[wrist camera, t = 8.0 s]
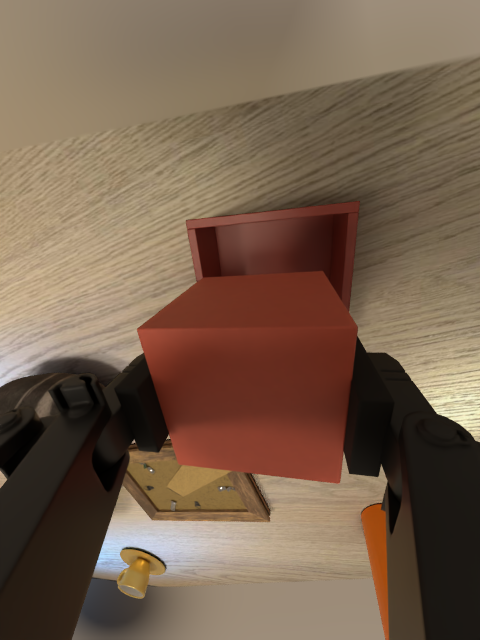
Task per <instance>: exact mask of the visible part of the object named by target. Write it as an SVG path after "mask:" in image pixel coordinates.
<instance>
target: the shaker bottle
mask: <svg viewBox="0 0 480 640" xmlns="http://www.w3.org/2000/svg"><path fill="white" fill-rule="evenodd" d="M381 507H382V504H376V505H372V506H369V507H368V508H366V509H365V510H364V511H363V512H362V514H361V519H362V524H363V529H364V534H365V539H366V544H367V550H368V555H369V560H370V565H371V570H372V575H373V580H374V585H375V590H376V595H377V599H378V605H379V610H380V615H381V620H382V625H383V630H384V635H385V640H389V622H388V585H387V547H386V512H385V511H383V510H381Z"/></svg>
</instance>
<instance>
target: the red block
mask: <svg viewBox="0 0 480 640" xmlns="http://www.w3.org/2000/svg"><path fill="white" fill-rule="evenodd" d="M137 332H138V335H139V338H140V342H141V345H142V348H143V351H144V355H145V358H146V361H147V364H148V368H149V371H150V374H151V377H152V381H153V384H154V387H155V390H156V393H157V397H158V400H159V403H160V406H161V410H162V413H163V416H164V419H165V423H166V426H167V429H168V432H169V436H170V439H171V442H172V445H173V449H174V452H175V455H176V458H177V462H178V464H179V465H186V466H195V467H203V468H211V469H220V470H228V471H237V472H245V473H253V474H262V475H270V476H279V477H287V478H296V479H304V480H312V481H321V482H329V483H340V478H341V470H342V461H343V452H344V442H345V433H346V424H347V415H348V407H349V398H350V389H351V381H352V375H353V366H354V358H355V349H356V341H357V332H358V327H357V325H356V323H355V322H354V320H353V319H352V317H351V315H350V314H349V312H348V311H347V309H346V307H345V306H344V304H343V302H342V301H341V299H340V298H339V296H338V294H337V293H336V291H335V290H334V288H333V286H332V285H331V283H330V281H329V280H328V278H327V277H326V275H325V273H324V272H323V271H313V272H295V273H277V274H259V275H242V276H224V277H206V278H202V279H200V280H199V281H198V282H197V283H195V284H194V285H193V286H191V287H190V288H189V289H188V290H186V291H185V292H184V293H182V294H181V295H180V296H179V297H177V298H176V299H175V300H173V301H172V302H171V303H170V304H168V305H167V306H166V307H164V308H163V309H162V310H161V311H159V312H158V313H157V314H155V315H154V316H153V317H152V318H150V319H149V320H148V321H146V322H145V323H144V324H143V325H141V326H140V327H139V328H138V329H137Z"/></svg>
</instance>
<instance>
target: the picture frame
mask: <svg viewBox="0 0 480 640" xmlns="http://www.w3.org/2000/svg"><path fill="white" fill-rule="evenodd" d="M128 452H129V454H130V462H129V465H128V468H127V471H126V474H125V477H124V480H123V483H122V484H123V486H124V487H125V488H126V489H127V490H128V492H129V493H130V494H131V495H132V496H133V498H134V499H135V500H136V501H137V502H138V504H139V505H140V506H141V507H142V508H143V510H144V511H145V512H146V513H147V515H148V516H149V517H150V518H151V519H152V520H171V521H243V522H270V517H269V516H270V511H269V509H268V507H267V505H266V503H265V501H264V499H263V497H262V495H261V493H260V491H259V490H258V488H257V486H256V484H255V482H254V480H253V478H252V476H251V474H250V473H245V472H237V471H228V470H220V469H211V468H203V467H195V466H186V465H179V464H178V462H177V458H176V455H175V452H174V449H173V445H172V442H171V441H165V442H164V444H163V446H162V448H161V450H160V452H159V453H155V452H146V451H139V450H138V447H137V445H136V444H135V445H130V446H129V447H128Z"/></svg>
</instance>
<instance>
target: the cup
mask: <svg viewBox="0 0 480 640" xmlns="http://www.w3.org/2000/svg"><path fill="white" fill-rule="evenodd" d="M120 556H121V558H122V560H123V561H124V562H125V563H127V564H128V565H129V566H130V567H129V568H126V569H124V570H123V571H122V572H121V573H120V575H119V577H118V579H117V583H118V588H119V589H120V590H121V591H122V592H123V593H125V594H127V595H129V596H131V597H135V598H143V597H144V596H145V592H146V589H147V586H148V581H149V574H152V575H161V574H163V573H164V572H165V567H164V565H163V564H162V563H161V562H160V561H159V560H157V559H156V558H154V557H152V556H151V555H149V554H146V553H144V552H141V551H137V550H132V549H126V550H122V551H121V552H120Z"/></svg>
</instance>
